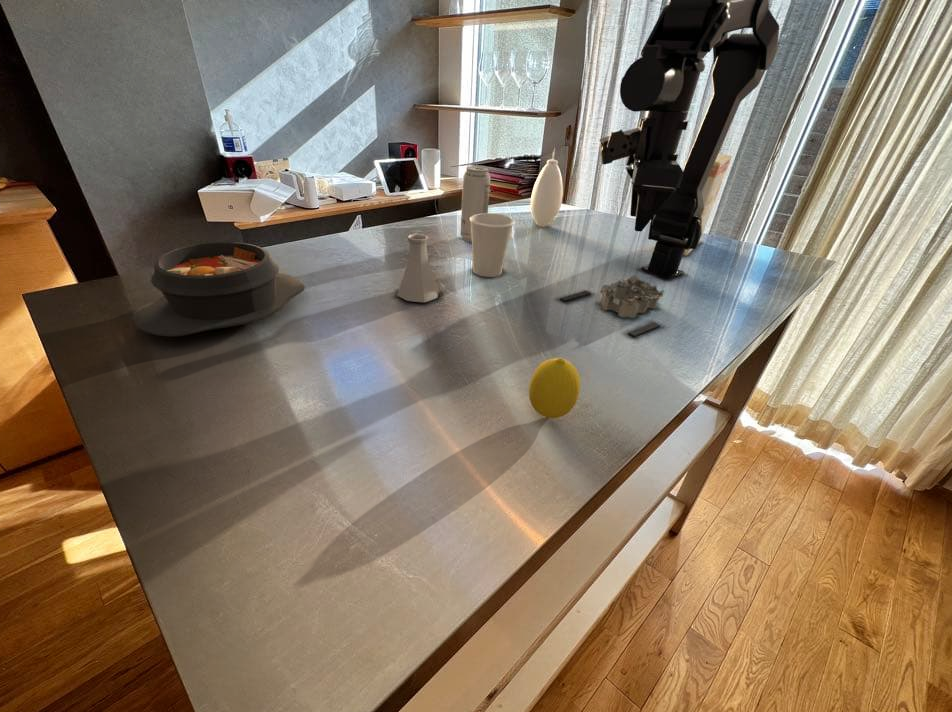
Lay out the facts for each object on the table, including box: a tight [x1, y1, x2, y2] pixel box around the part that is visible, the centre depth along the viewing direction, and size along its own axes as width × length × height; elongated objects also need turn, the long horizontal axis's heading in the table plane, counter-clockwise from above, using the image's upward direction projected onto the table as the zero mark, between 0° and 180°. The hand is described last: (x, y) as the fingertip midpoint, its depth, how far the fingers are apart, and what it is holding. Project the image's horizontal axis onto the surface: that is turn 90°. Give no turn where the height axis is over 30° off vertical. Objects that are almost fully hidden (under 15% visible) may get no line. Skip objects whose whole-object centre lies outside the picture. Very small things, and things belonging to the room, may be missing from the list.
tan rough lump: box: [599, 274, 665, 319], centre depth 77 cm, size 11×8×4 cm
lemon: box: [528, 357, 581, 419], centre depth 49 cm, size 6×6×8 cm
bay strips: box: [559, 290, 661, 338], centre depth 76 cm, size 7×16×1 cm, turn 36°
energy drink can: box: [459, 165, 492, 243], centre depth 100 cm, size 6×6×15 cm
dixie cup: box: [470, 212, 515, 278], centre depth 85 cm, size 8×8×10 cm
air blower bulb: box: [530, 147, 564, 228], centre depth 111 cm, size 8×8×18 cm
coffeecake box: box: [683, 153, 733, 256], centre depth 103 cm, size 15×7×20 cm, turn 144°
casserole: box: [131, 241, 306, 338], centre depth 66 cm, size 25×19×8 cm
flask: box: [396, 233, 440, 304], centre depth 74 cm, size 7×7×10 cm
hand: (635, 223), depth 73 cm, fingers open, 9 cm apart
